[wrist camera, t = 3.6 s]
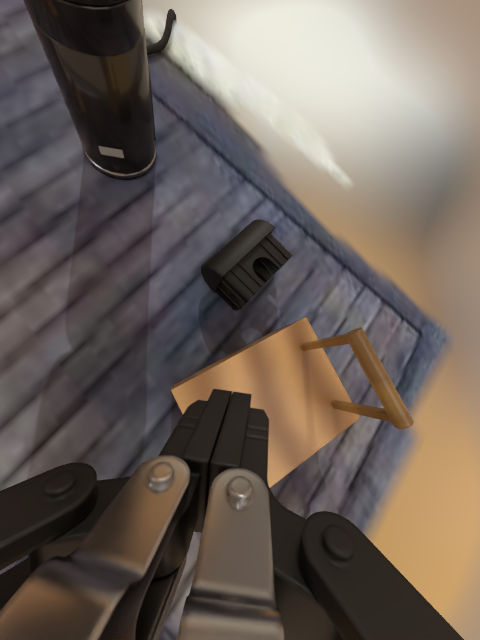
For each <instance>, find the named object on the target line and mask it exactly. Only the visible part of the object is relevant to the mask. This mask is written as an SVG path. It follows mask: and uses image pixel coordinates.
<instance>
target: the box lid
mask: <svg viewBox="0 0 480 640" xmlns="http://www.w3.org/2000/svg"><path fill="white" fill-rule="evenodd" d="M344 344H350V346H351V348H352V350H353V352H354V354H355V355H356V357H357V359H358V361H359V363H360V365H361V366H362V368H363V370H364V372H365V374H366V376H367V377H368V379H369V381H370V383H371V385H372V387H373V388H374V390H375V392H376V394H377V396H378V398H379V399H380V401H381V403H382V405H383V407H384V409H383V408H377V407H372V406H366V405H361V404H355V403H352V402H351V400H350V398H349V396H348V394H347V392H346V390H345V389H344V387H343V385H342V383H341V381H340V379H339V377H338V376H337V374H336V372H335V370H334V368H333V366H332V364H331V363H330V361H329V359H328V357H327V355H326V353H325V351H324V350H323V348H325V347H331V346H337V345H344ZM213 389H220V390H227V391H232V393H233V391H234V392H241V393H247V394H252V397H251V406H250V408H257V409H263V410H264V411H265V413H266V414H267V416H268V418H269V439H268V473H267V479H268V485H269V488H270V487H272V486H273V485H274V484H275V483H277V482H278V481H279V480H281V479H282V478H283V477H284V476H286V475H287V474H288V473H290V472H291V471H292V470H294V469H295V468H296V467H297V466H299V465H300V464H301V463H303V462H304V461H305V460H306V459H308V458H309V457H310V456H312V455H313V454H314V453H315V452H317V451H318V450H319V449H321V448H322V447H323V446H324V445H326V444H327V443H328V442H330V441H331V440H332V439H333V438H335V437H336V436H337V435H339V434H340V433H341V432H342V431H344V430H345V429H346V428H348V427H349V426H350V425H351V424H353V423H354V422H355V421H357V420H358V419H359V418H360V417H359V415H363V416H368V417H372V418H376V419H380V420H385V421H389V422H392V423H393V425H394V427H396V428H398V429H404V428H408V427H410V426H411V425H412V424H413V419H412V418H411V416H410V414H409V412H408V410H407V409H406V407H405V405H404V403H403V401H402V399H401V398H400V396H399V394H398V392H397V390H396V389H395V387H394V385H393V383H392V381H391V380H390V378H389V376H388V374H387V372H386V370H385V369H384V367H383V365H382V363H381V361H380V360H379V358H378V356H377V354H376V352H375V351H374V349H373V347H372V345H371V343H370V341H369V340H368V338H367V336H366V334H365V332H364V331H363V329H362V328H357V329H354V330H352V331H350V332H348V333H346V334H344V335H339V336H335V337H330V338H325V339H321V340H318V338H317V336H316V335H315V333H314V331H313V329H312V327H311V325H310V323H309V322H308V320H307V318H306V317H305V318H303V319H301V320H299V321H297V322H295V323H293V324H292V325H290V326H288V327H286V328H284V329H282V330H280V331H279V332H277V333H275V334H273V335H271V336H269V337H267V338H266V339H264V340H262V341H260V342H258V343H256V344H254V345H253V346H251V347H249V348H247V349H245V350H243V351H242V352H240V353H238V354H236V355H234V356H232V357H230V358H229V359H227V360H225V361H223V362H221V363H219V364H217V365H216V366H214V367H212V368H210V369H208V370H206V371H204V372H203V373H201V374H199V375H197V376H195V377H193V378H191V379H190V380H188V381H186V382H184V383H182V384H180V385H178V386H177V387H175V388H173V389H171V391H172V393H173V395H174V398H175V400H176V402H177V404H178V406H179V408H180V410H181V412H182V414H184V412H185V411H186V409H187V407H188V406H189V405H191V404H192V403H194V402H195V401H197V400H204V401H208V399H209V397H210V395H211V392H212V390H213ZM358 414H359V415H358Z"/></svg>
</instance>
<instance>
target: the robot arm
mask: <svg viewBox="0 0 480 640" xmlns="http://www.w3.org/2000/svg"><path fill="white" fill-rule="evenodd" d="M24 2H25V5H26V7H27V10H28V12H29V14H30V17H31V19H32V22H33V24H34V27H35V29H36V32H37V34H38V37H39V39H40V41H41V44H42V46H43V49H44V51H45V54H46V56H47V59H48V61H49V64H50V66H51V69H52V71H53V73H54V76H55V78H56V81H57V83H58V86H59V88H60V91H61V93H62V96H63V98H64V101H65V103H66V105H67V108H68V110H69V113H70V115H71V118H72V120H73V123H74V125H75V128H76V130H77V133H78V135H79V138H80V140H81V142H82V146H83V149H84V152H85V154H86V157H87V159H88V160H89V162H90V163H91V164H92V165H93V166H94V167H95V168H96V169H97V170H99V171H100V172H102V173H103V174H105V175H108V176H110V177H113V178H118V179H134V178H138V177H141V176H143V175H145V174H146V173H148V172H149V171H150V170H151V169H152V167H153V166H154V164H155V161H156V146H155V142H154V141H155V127H154V115H153V103H152V90H151V78H150V68H149V66H148V62H147V55H150V54H153V53H157V52H159V51H161V50H163V49H164V48H165V46H166V45H167V43H168V40H169V38H170V34H171V29H172V23H173V21H175V22H177V19H176V14H175V12H174V10H172V9H170V10H169V11H168V14H167V20H166V26H165V31H164V34H163V37H162V38H161V40H160V41H159V42H157V43H155V44H152V45H148V46H146V39H145V28H144V18H143V7H142V0H24ZM251 397H252V394H247V393H241V392H234V391H233V393H232V391H227V390H220V389H213V390H212V392H211V395H210V397H209V399H208V401H204V400H197V401H195V402H194V403H192V404H191V405H189V406H188V407H187V409H186V411H185V412H184V414H183V417H181V419H180V421H179V423H178V425H177V426H176V428H175V429H174V431H173V433H172V434H171V436H170V438H169V439H168V441H167V443H166V444H165V446H164V448H163V449H162V451H161V453H160V454H159V456H157V457H154V458H151V459H149V460H147V461H146V462H144V463H143V464H142V465H140V466H139V467H138V468H137V470H136V471H135V472H134V473H133V475H132V476H129V477H125V478H117V479H108V480H99V481H97V477H96V472H95V470H94V468H93V467H92V466H90V465H88V464H85V463H70V464H65V465H61V466H59V467H56V468H54V469H51V470H49V471H47V472H44V473H42V474H40V475H37V476H35V477H32V478H30V479H28V480H25V481H23V482H21V483H18V484H16V485H14V486H11V487H9V488H7V489H4V490H2V491H0V570H2V569H3V568H5V567H7V566H9V565H10V564H12V563H14V562H15V561H17V560H19V559H21V558H22V557H24V556H26V555H27V554H28V559H26V560H24V561H23V562H21V563H19V564H18V565H16V566H14V567H13V568H11V569H9V570H7V571H6V572H4V573H2V574H1V575H0V640H159V637H160V634H161V631H162V629H163V626H164V623H165V620H166V617H167V615H168V612H169V609H170V606H171V603H172V601H173V598H174V595H175V592H176V589H177V587H178V584H179V581H180V578H181V576H182V573H183V570H184V567H185V563H186V555H187V552H188V549H189V546H190V542H191V539H192V536H193V532H194V531H196V532H201V533H202V535H201V540H200V546H199V551H198V556H197V561H196V566H195V571H194V576H193V581H192V586H191V590H190V594H189V596H187V598H186V601H185V605H184V609H183V613H182V617H181V621H180V626H179V631H178V636H177V640H464V639H463V638H462V637H461V636H460V635H459V634H458V633H457V632H456V631H455V630H454V629H453V628H452V627H451V626H450V624H449V623H448V622H446V620H445V619H444V618H443V617H442V616H441V615H440V614H439V613H438V612H437V611H436V610H435V609H434V608H433V607H432V605H431V604H430V603H429V602H427V600H426V599H425V598H424V597H423V596H422V595H421V594H420V593H419V592H418V591H417V590H416V589H415V588H414V587H413V585H412V584H411V583H410V582H409V581H408V580H407V579H406V578H405V577H404V576H403V575H402V574H401V573H400V572H399V571H398V570H397V569H396V568H395V567H394V566H393V565H392V563H391V562H390V561H389V560H387V558H386V557H385V556H384V555H383V554H382V553H381V552H380V551H379V550H378V549H377V548H376V547H375V546H374V544H373V543H372V542H371V541H370V540H369V539H368V538H367V537H366V536H365V535H364V534H363V533H362V532H361V531H360V530H359V529H358V528H357V527H356V526H355V525H354V524H353V523H351V522H350V521H349V520H347V519H346V518H344V517H342V516H340V515H338V514H335V513H332V512H326V511H323V512H316V513H314V514H312V515H311V516H309V517H308V518H307V520H306V519H305V518H303V517H301V516H299V515H297V514H295V513H293V512H292V511H290V510H288V509H287V508H285V507H284V506H283V505H281V504H280V503H279V502H278V501H277V500H276V498H275V497H274V496H273V494H272V492H271V491H270V488H269V485H268V479H267V473H268V439H269V418H268V416H267V414H266V413H265V411H264V410H263V409H257V408H250V406H251Z"/></svg>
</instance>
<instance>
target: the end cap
mask: <svg viewBox="0 0 480 640" xmlns="http://www.w3.org/2000/svg"><path fill="white" fill-rule="evenodd" d="M274 229H275V227H274V226H273V225H272V224H270V223H269V222H267V221H264V220H254V221H253V222H251V223H250V224H249V225H248V226H247V227H246V228H244V229H243V230H242V231H241V232H240V233H239V234H238V235H237V236H235V237H234V238H233V239H232V240H231V241H230V242H229V243H227V244H226V245H225V246H224V247H223V248H222V249H221V250H220V251H218V252H217V253H216V254H215V255H214V256H213V257H212V258H211V259H209V260H208V261H207V262H206V263H205V264H204V265H203V266H202V268H201V273H202V276H203V278H204V280H205V281H206V283H207V284H208V286H209V287H210V288H211V289H212V290H213V291H214V293H215V292H217V293H218V294H219V295H220V296H221V297H222V298H223V299H224V300H225V301H226V302H227V303H228V304H229V305H230V306H231V307H232V308H233V309H234V310H239V309H241V308H242V307H243V306H244V304H246V303H247V302H248V301H249V300H250V299H251V298H252V297H253V296H254V295H255V294H256V293H257V292H258V291H259V290H260V289H261V287H262V286H263V285H264V284H265V282H267V281H268V279H269V278H270V277H271V276H272V275H273V274H274V273H275V272H276V271H277V270H279V269H280V268H281V267H282V266H283V265H284V264H285V263H286V262H287V261H288V259H289V258H290V257H291V256H292V255H291V254H290V253H289V252H288V251H287V250H286V249H285V248H284V247H283V246H282V245H281V244H280V243H279V242H278V241H277V240H276V239H275V238H274V237H273V236H272V235H271V233H272V232H273V230H274Z"/></svg>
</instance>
